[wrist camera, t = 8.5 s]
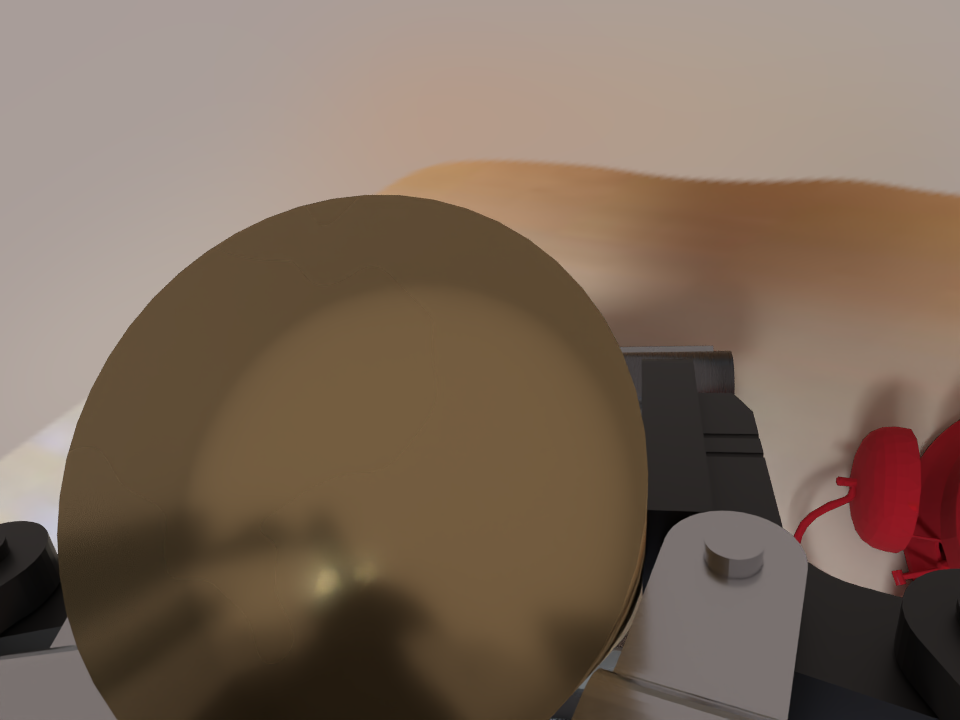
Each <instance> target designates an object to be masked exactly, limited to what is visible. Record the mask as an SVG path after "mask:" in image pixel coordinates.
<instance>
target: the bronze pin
mask: <svg viewBox="0 0 960 720" xmlns="http://www.w3.org/2000/svg"><path fill="white" fill-rule="evenodd" d="M647 499H648V465H647V452H646V438H645V429H644V425H643V420H642V415H641V411H640V406H639V401H638V397H637V392H636V389H635V386H634V383H633V381H632V378H631V375H630V372H629V370H628V367H627V364H626V361H625V358H624V356H623V353H622V351H621V349H620V347H619V345H618V344H617V342H616V340H615V338H614V336H613V334H612V332H611V330H610V328H609V327H608V325H607V323H606V321H605V319H604V317H603V316H602V315H601V313H600V312H599V311H598V309H597V308H596V306H595V305H594V304H593V302H592V301H591V299H590V298H589V297H588V295H587V294H586V293H585V291H584V290H583V288H582V287H581V286H580V285H579V284H578V283H577V282H576V281H575V280H574V279H573V278H572V277H571V276H570V275H569V274H568V273H567V272H566V271H565V270H564V269H563V267H562V266H561V265H560V264H559V263H558V262H557V261H555V260H554V259H553V258H552V257H550V256H549V255H548V254H547V253H545V252H544V251H543V250H541V249H540V248H539V247H538V246H536V245H535V244H534V243H533V242H531V241H530V240H529V239H527V238H525V237H524V236H522V235H520V234H519V233H517V232H515V231H513V230H512V229H510V228H508V227H507V226H505V225H503V224H501V223H500V222H498V221H495V220H493V219H491V218H488V217H486V216H483V215H481V214H478V213H476V212H474V211H471V210H469V209H466V208H463V207H459V206H455V205H451V204H448V203H444V202H440V201H436V200H432V199H424V198H416V197H409V196H401V195H363V196H354V197H346V198H336V199H330V200H326V201H321V202H317V203H313V204H309V205H305V206H300V207H297V208H294V209H291V210H289V211H286V212H283V213H280V214H278V215H275V216H272V217H269V218H267V219H264V220H262V221H261V222H259V223H256V224H254V225H252V226H250V227H248V228H246V229H244V230H242V231H240V232H238V233H236V234H234V235H233V236H231V237H229V238H228V239H226V240H225V241H223V242H221V243H220V244H218V245H217V246H215V247H214V248H212V249H210V250H209V251H207V252H206V253H204V254H203V255H202V256H201V257H199V258H198V259H197V260H196V261H194V262H193V263H192V264H190V265H189V266H188V267H186V268H185V269H184V270H183V271H181V272H180V273H179V274H178V275H177V276H176V277H175V278H174V279H173V280H172V281H171V282H169V284H167V285H166V286H165V287H164V288H163V289H162V290H161V291H160V292H159V293H158V294H157V295H156V296H155V297H154V298H153V299H152V300H151V301H150V303H149V304H148V305H147V306H146V307H145V308H144V310H143V311H142V312H141V313H140V314H139V316H138V317H137V318H136V319H135V320H134V322H133V323H132V324H131V325H130V326H129V328H128V329H127V331H126V332H125V334H124V335H123V337H122V338H121V339H120V341H119V342H118V344H117V345H116V347H115V348H114V350H113V351H112V353H111V354H110V356H109V357H108V359H107V361H106V363H105V365H104V367H103V369H102V370H101V372H100V374H99V376H98V378H97V379H96V381H95V383H94V385H93V387H92V389H91V391H90V393H89V396H88V398H87V401H86V403H85V405H84V408H83V410H82V413H81V415H80V418H79V420H78V422H77V425H76V429H75V432H74V436H73V439H72V442H71V446H70V449H69V453H68V456H67V459H66V465H65V470H64V476H63V482H62V487H61V493H60V501H59V516H58V531H57V540H58V560H59V575H60V581H61V587H62V592H63V598H64V604H65V609H66V614H67V617H68V620H69V623H70V626H71V630H72V633H73V636H74V639H75V643H76V646H77V649H78V651H79V653H80V655H81V658H82V660H83V662H84V664H85V666H86V668H87V670H88V673H89V675H90V677H91V679H92V681H93V683H94V685H95V687H96V688H97V690H98V691H99V693H100V694H101V696H102V697H103V699H104V701H105V702H106V704H107V705H108V707H109V708H110V710H111V711H112V713H113V714H114V716H115V717H116V719H117V720H549V719H550V718H551V717H552V716H553V715H554V714H555V713H556V712H557V711H558V709H559V708H560V707H561V706H562V705H563V704H564V703H565V702H566V701H567V700H568V699H569V697H570V696H571V695H572V694H573V693H574V692H575V691H576V690H577V689H578V688H579V687H580V685H581V684H582V683H583V682H584V681H585V680H586V679H587V678H588V677H589V676H590V675H591V673H592V672H593V671H594V670H595V669H596V668H597V667H598V666H599V665H600V664H601V663H602V661H603V660H604V659H605V658H606V657H607V656H608V655H609V654H610V653H611V652H612V651H613V649H614V648H615V647H616V646H617V645H618V644H619V643H620V642H621V641H622V639H623V638H624V637H625V635H626V634H627V632H628V631H629V629H630V628H631V625H632V622H633V620H634V617H635V615H636V612H637V609H638V607H639V604H640V602H641V599H642V574H643V569H644V563H645V549H646V531H647Z"/></svg>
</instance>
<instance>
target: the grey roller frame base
mask: <svg viewBox="0 0 960 720" xmlns="http://www.w3.org/2000/svg"><path fill="white" fill-rule="evenodd" d="M620 349H621V351H622V353H623V356H624V358H625V361H626V364H627V367H628V370H629V372H630V375H631V378H632V381H633V383H634V386H635V389H636V392H637V397H638V401H639V406H640V411H641V415H642V359H693V362H694V369H695V377H696V384H697V391H698V393H733V394H734V364H733V357H732V353H731V351H713V346H660V347H620ZM622 648H623V647H615V648H614V649H613V651H612V652H611V653H610V654H609V655H608V656H607V657H606V658H605V659H604V660H603V661H602V663H601V664H600V665H599V666H598V667H597V668H596V669H595V670H594V671H593V672H592V673H591V675H590V676H589V677H588V678H587V679H586V680H585V681H584V682H583V683H582V684H581V685H580V687H579V688H578V689H577V690H576V691H575V692H574V693H573V694H572V695H571V696H570V697H569V699H568V700H567V701H566V702H565V703H564V704H563V705H562V706H561V707H560V708H559V709H558V711H557V712H556V713H555V714H554V715H553V716H552V717H551V718H550V719H549V720H571V719H572V717H573V715H574V712H575V710H576V707H577V705H578V703H579V700H580V698H581V695H582V693H583V691H584V689H585V686H586V684H587V682H588V681H589V679H590V677H591V676H592V674H593V673H594V672H595V671H596V670H597V669H599V668H602V669H605V670H609V671H613V670H614V668H615V666H616V664H617V661H618V659H619V656H620V654H621V651H622Z"/></svg>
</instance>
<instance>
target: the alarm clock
mask: <svg viewBox="0 0 960 720" xmlns="http://www.w3.org/2000/svg"><path fill="white" fill-rule="evenodd" d="M836 483H837V485H838V486H849V492H848V495H846V496H845V497H843V498H840V499H837V500H834V501H830V502H828V503H826V504H824V505H823V506H821V507H819V508H817V509H816V510H814V511H812V512H811V513H809V514H808V515H807V516H806V517H805V518H804V519H803V520H802V521H801V522H800V524H799V526H798V528H797V530H796V532H795V534H794V536H793V537H795V539H796V540H797V541H798V542H799V543H801V540H802V536H803V534H804V532H805V530H806V529H807V527H808V526H809V525H810V524H811V523H812V522H813V521H814V520H815V519H816V518H817V517H819V516H821V515H822V514H824V513H826V512H828V511H830V510H833V509H835V508H837V507H839V506H842V505H844V504H846V503H848V502H850V512H851V517H852V521H853V524H854V527H855V530H856V531H857V533H858V535H859V536H860V538H861V539H862V540H863V541H864V542H866V543H867V544H869V545H870V546H872V547H873V548H876V549H879V550H883V551H887V552H892V553H898V552H900V551H902V550H904V554H905V558H906V561H907V565H908V569H909V572H907V573H902V570H896V571H891V572H892V574H893V577H894V580H895V583H896V586H897V585H903V584H906V581H905V580H907V579H912V580H913V581H914V580H915V579H916V578H918V577H920V576H922V575H924V574H926V573H929V572H933V571H937V570H943V569H960V420H959V421H957V422H956V423H954V424H952V425H951V426H950V427H949V428H948V429H946V430H945V431H944V432H943V433H941V434H940V435H939V436H938V437H937V438H936V439H935V440H934V441H933V443H932V444H931V445H930V446H929V447H928V448H927V450H926V451H925V453H924V454H923V456H922V457H921V458H920V454H919V448H918V443H917V439H916V437H915V435H914V434H913V432H912V430H911V429H907V428H901V427H882V428H879V429H877V430H874V431H872V432H870V433H869V434H868V435H867V436H866V437H865V438H864V439H863V441H862V442H861V444H860V446H859V448H858V450H857V452H856V454H855V457H854V461H853V466H852V470H851V475H850V478H844V477H837V478H836Z"/></svg>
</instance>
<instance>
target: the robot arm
mask: <svg viewBox="0 0 960 720" xmlns="http://www.w3.org/2000/svg"><path fill="white" fill-rule="evenodd" d="M642 420H643V425H644V429H645V438H646V452H647V465H648V499H647V531H646V549H645V563H644V569H643V574H642V599H641V602H640V604H639V607H638V609H637V612H636V615H635V617H634V620H633V622H632V625H631V628H630V630H629V633H628V635H627V638H626V641H625V643H624V646H623V648H622V651H621V654H620V656H619V659H618V661H617V664H616V666H615V668H614V670H613V671H609V670H605V669H602V668H599V669H597V670H596V671H595V672H594V673H593V674H592V676H591V677H590V679H589V681H588V682H587V684H586V686H585V689H584V691H583V693H582V695H581V698H580V700H579V703H578V705H577V707H576V710H575V712H574V715H573V717H572V719H571V720H960V569H943V570H937V571H933V572H929V573H926V574H924V575H922V576H920V577H918V578H916V579H915V580H914V581H913V582H911V583H910V584H909V586H908V587H907V589H906V590H905V593H904V596H903V598H901V597H898V596H894V595H890V594H886V593H883V592H879V591H875V590H872V589H868V588H864V587H861V586H857V585H854V584H851V583H848V582H845V581H842V580H840V579H838V578H835V577H833V576H831V575H829V574H827V573H825V572H823V571H821V570H819V569H818V568H816V567H815V566H813V565H812V564H810V563H809V562H808V561H807V557H806V554H805V552H804V550H803V548H802V546H801V545H800V543H799V542H798V541H797V540H796V539H795V537H793V536H792V535H791V534H790V533H789V532H788V531H786V530H785V529H783V527H782V523H781V519H780V515H779V511H778V508H777V504H776V500H775V496H774V492H773V488H772V484H771V480H770V477H769V473H768V469H767V465H766V461H765V458H763V449H762V446H761V442H760V439H759V434H758V430H757V426H756V422H755V418H754V414H753V412H752V411H751V410H750V409H749V408H748V407H747V406H746V405H745V404H744V403H743V402H742V401H741V400H739V399H738V398H737V397H736V396H735V395H734V394H733V393H698V391H697V384H696V377H695V369H694V362H693V359H642ZM0 720H117V719H116V717H115V716H114V714H113V713H112V711H111V710H110V708H109V707H108V705H107V704H106V702H105V701H104V699H103V697H102V696H101V694H100V693H99V691H98V690H97V688H96V687H95V685H94V683H93V681H92V679H91V677H90V675H89V673H88V670H87V668H86V666H85V664H84V662H83V660H82V658H81V655H80V653H79V651H78V649H77V646H76V643H75V639H74V636H73V633H72V630H71V626H70V623H69V620H68V617H67V614H66V609H65V604H64V598H63V592H62V587H61V581H60V575H59V560H58V554H57V553H56V550H55V548H54V546H53V543H52V541H51V539H50V537H49V534H48V532H47V530H46V529H45V528H44V527H43V526H42V525H40V524H38V523H34V522H28V521H15V522H8V523H2V524H0Z"/></svg>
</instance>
